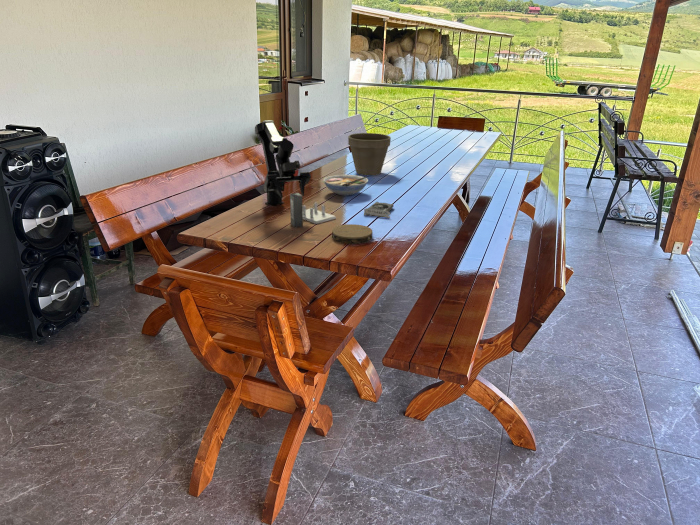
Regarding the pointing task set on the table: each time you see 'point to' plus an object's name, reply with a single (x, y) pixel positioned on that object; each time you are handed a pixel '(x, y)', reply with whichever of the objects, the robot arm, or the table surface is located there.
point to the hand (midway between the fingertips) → (292, 196)
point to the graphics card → (379, 210)
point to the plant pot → (368, 152)
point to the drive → (296, 210)
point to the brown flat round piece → (352, 234)
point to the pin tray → (316, 215)
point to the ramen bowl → (345, 184)
